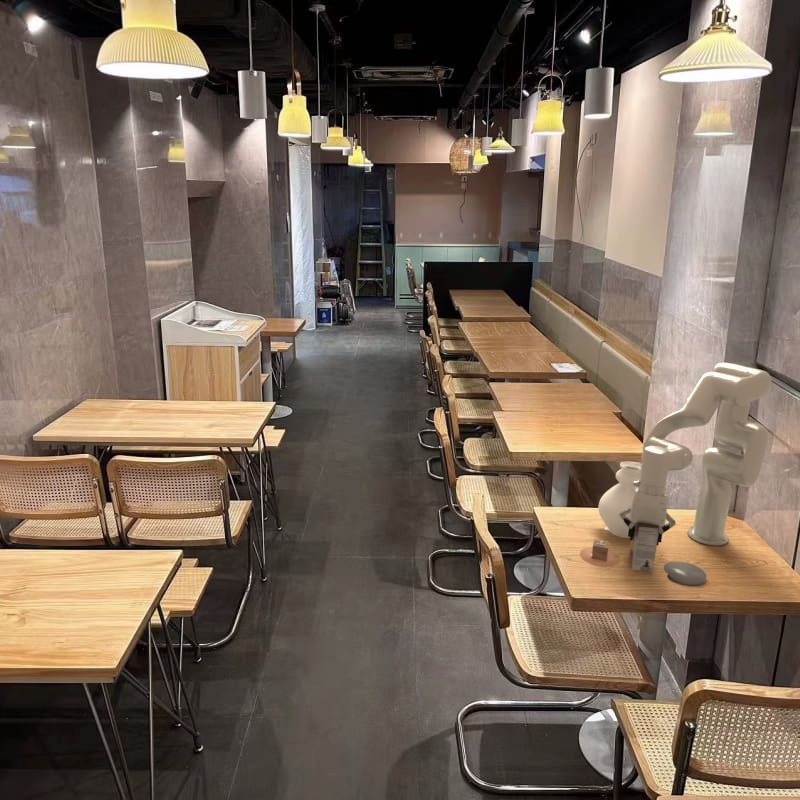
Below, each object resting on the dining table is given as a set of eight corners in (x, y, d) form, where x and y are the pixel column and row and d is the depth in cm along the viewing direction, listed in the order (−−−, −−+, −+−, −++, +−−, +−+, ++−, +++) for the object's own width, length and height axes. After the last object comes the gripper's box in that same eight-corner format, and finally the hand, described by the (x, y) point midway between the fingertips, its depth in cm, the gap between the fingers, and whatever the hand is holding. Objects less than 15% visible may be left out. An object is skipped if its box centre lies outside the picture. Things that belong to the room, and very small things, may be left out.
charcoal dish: (663, 561, 217) (663, 558, 217) (704, 569, 214) (705, 566, 213) (663, 580, 207) (663, 577, 206) (706, 589, 203) (707, 585, 202)
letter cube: (592, 551, 220) (594, 538, 218) (607, 554, 218) (609, 541, 217) (591, 558, 216) (593, 544, 214) (606, 561, 214) (608, 547, 213)
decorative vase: (648, 526, 241) (658, 459, 233) (652, 551, 224) (663, 479, 217) (595, 519, 245) (603, 453, 237) (595, 542, 228) (604, 472, 221)
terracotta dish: (581, 547, 225) (581, 544, 224) (620, 554, 221) (620, 551, 220) (577, 564, 214) (577, 561, 213) (617, 573, 210) (618, 569, 210)
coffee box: (627, 557, 219) (634, 511, 214) (649, 560, 218) (656, 513, 213) (631, 572, 210) (637, 524, 205) (653, 575, 209) (660, 527, 204)
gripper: (620, 487, 205) (613, 541, 210) (683, 497, 200) (674, 552, 205) (621, 478, 212) (615, 530, 217) (682, 487, 206) (674, 541, 212)
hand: (644, 540), depth 211 cm, fingers closed on coffee box, 6 cm apart
